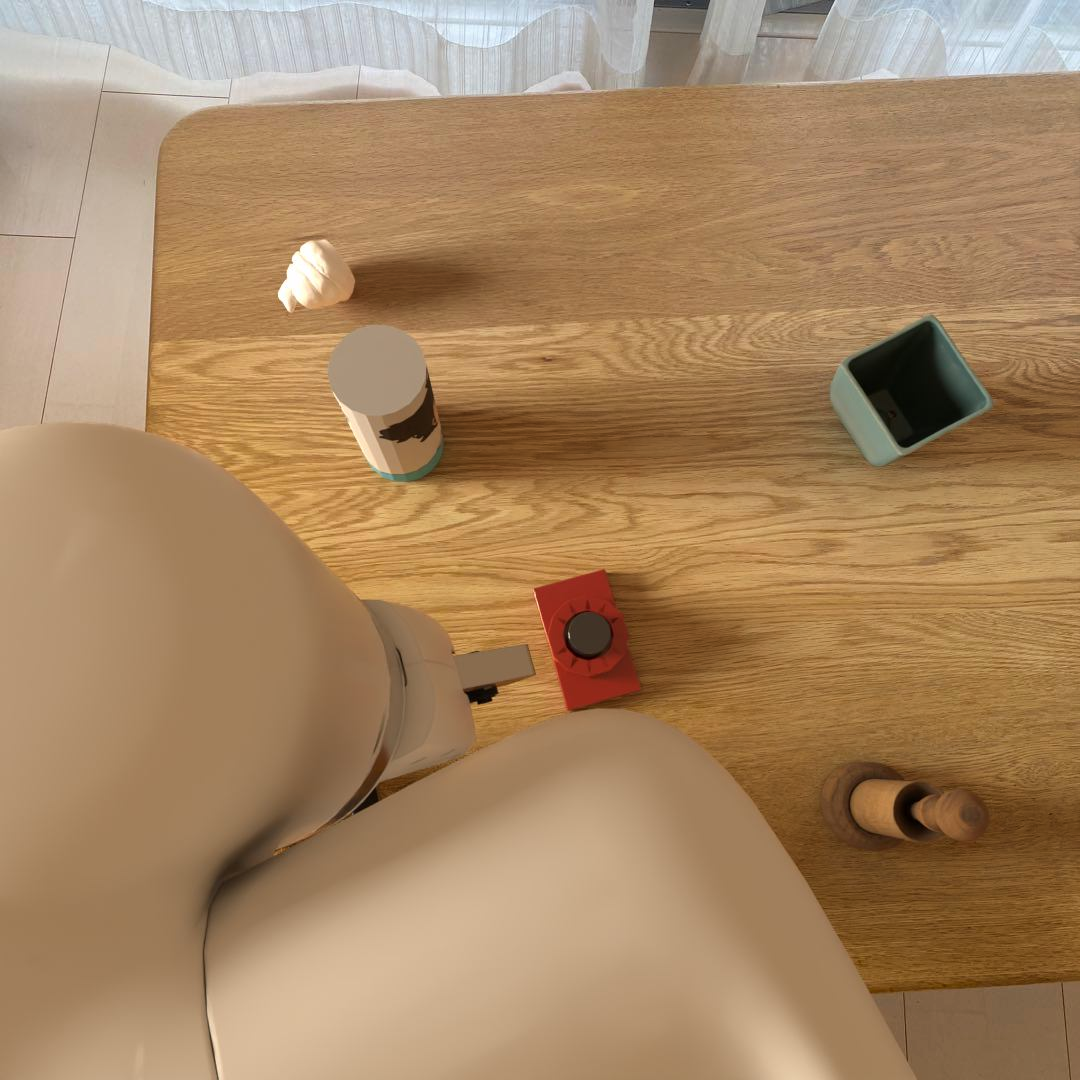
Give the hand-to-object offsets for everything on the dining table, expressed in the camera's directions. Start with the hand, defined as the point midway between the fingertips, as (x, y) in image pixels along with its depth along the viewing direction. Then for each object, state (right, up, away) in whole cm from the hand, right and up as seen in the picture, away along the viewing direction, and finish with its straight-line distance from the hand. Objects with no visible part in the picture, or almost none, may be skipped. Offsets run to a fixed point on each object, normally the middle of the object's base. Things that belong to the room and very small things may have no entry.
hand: (361, 721), depth 42 cm
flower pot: (+36, +18, +38) cm, 56 cm away
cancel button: (+12, +1, +30) cm, 33 cm away
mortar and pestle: (+33, -12, +30) cm, 47 cm away
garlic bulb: (-11, +29, +40) cm, 51 cm away
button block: (+12, 0, +33) cm, 35 cm away
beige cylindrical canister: (-3, +16, +37) cm, 40 cm away
